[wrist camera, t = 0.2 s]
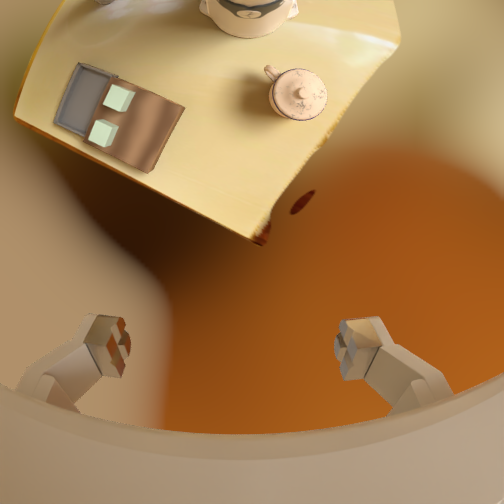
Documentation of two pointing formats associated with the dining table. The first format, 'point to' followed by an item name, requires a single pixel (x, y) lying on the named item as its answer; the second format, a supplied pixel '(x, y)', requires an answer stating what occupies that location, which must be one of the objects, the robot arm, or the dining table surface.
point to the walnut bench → (138, 126)
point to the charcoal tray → (82, 98)
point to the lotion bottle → (104, 1)
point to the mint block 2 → (118, 98)
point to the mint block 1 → (103, 133)
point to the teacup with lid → (296, 93)
